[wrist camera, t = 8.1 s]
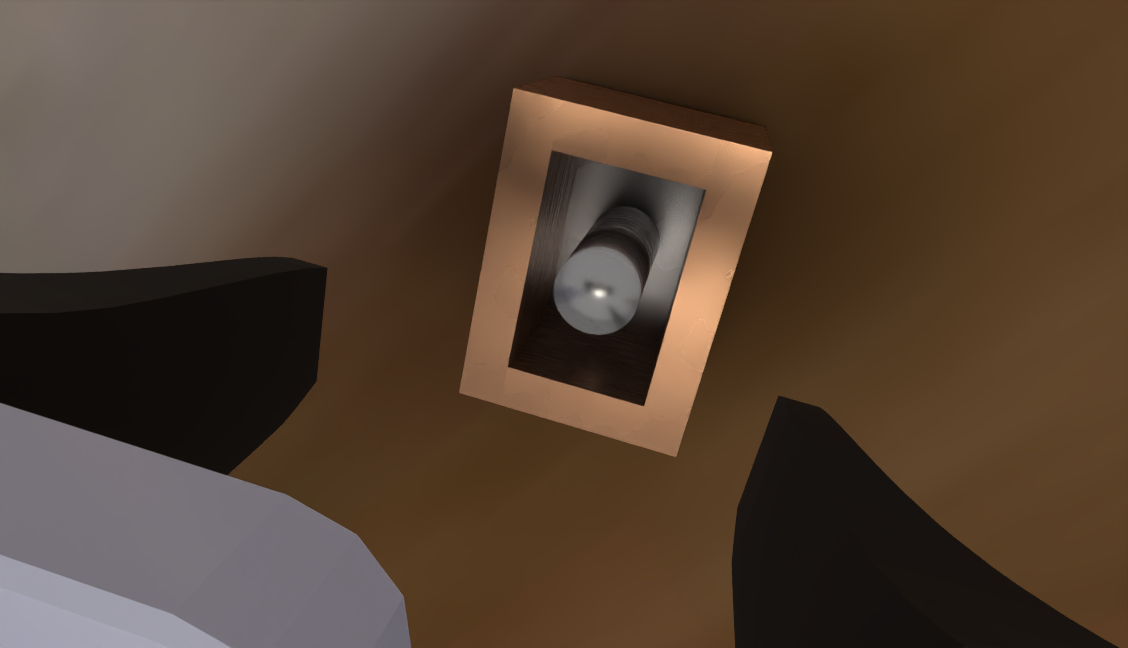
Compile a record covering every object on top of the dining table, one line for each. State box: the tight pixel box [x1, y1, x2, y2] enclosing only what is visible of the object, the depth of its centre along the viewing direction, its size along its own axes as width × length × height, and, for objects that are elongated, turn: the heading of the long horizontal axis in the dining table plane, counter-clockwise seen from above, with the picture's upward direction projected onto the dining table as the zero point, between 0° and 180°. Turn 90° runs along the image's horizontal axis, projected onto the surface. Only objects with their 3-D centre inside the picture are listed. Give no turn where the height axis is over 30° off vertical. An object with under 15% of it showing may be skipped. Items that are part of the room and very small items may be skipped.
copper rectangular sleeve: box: [459, 76, 772, 457], centre depth 18 cm, size 7×5×4 cm
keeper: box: [547, 157, 704, 340], centre depth 19 cm, size 5×5×5 cm
